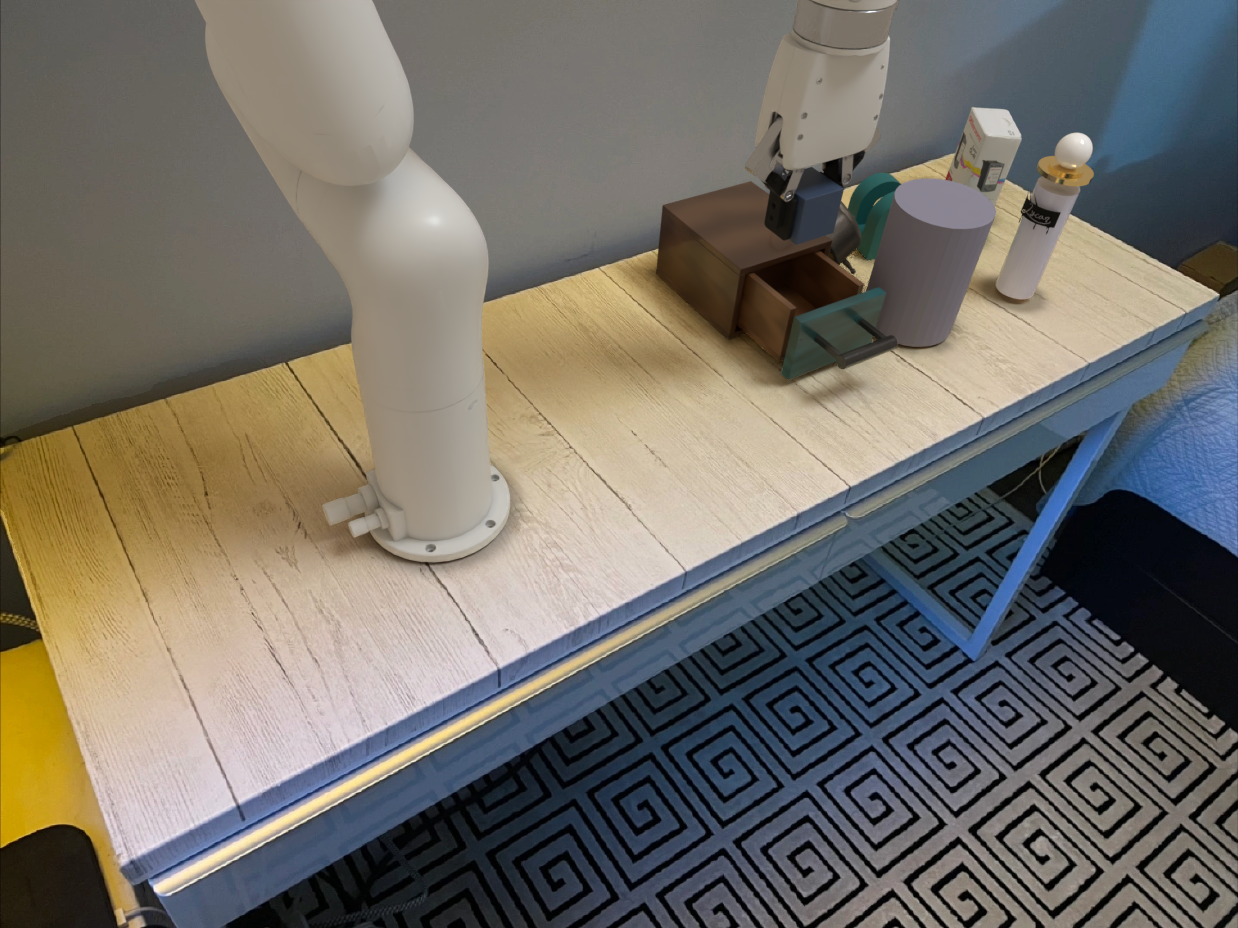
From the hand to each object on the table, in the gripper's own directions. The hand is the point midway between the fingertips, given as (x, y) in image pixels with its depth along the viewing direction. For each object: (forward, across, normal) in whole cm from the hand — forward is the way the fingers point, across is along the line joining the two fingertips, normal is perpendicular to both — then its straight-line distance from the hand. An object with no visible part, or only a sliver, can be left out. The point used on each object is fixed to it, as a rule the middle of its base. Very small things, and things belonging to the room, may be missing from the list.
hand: (799, 224), depth 84 cm
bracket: (+18, -34, -13) cm, 41 cm away
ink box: (+18, -47, -16) cm, 53 cm away
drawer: (+17, -6, -1) cm, 18 cm away
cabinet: (+18, -6, -14) cm, 23 cm away
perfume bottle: (+18, -36, +2) cm, 40 cm away
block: (0, 0, 0) cm, 0 cm away
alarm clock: (+17, -21, -14) cm, 30 cm away
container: (+18, -20, 0) cm, 27 cm away
